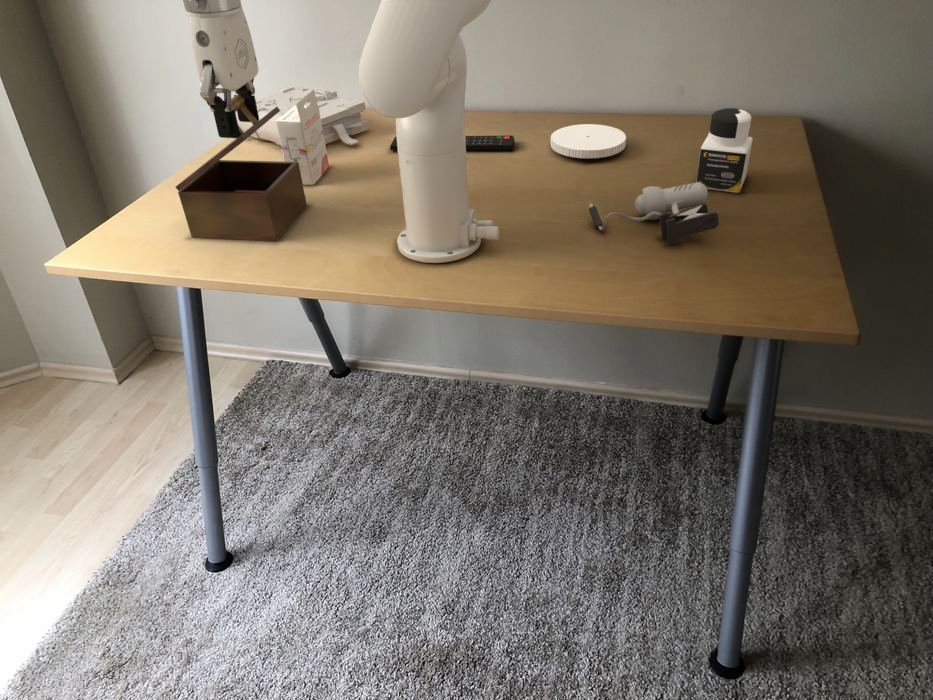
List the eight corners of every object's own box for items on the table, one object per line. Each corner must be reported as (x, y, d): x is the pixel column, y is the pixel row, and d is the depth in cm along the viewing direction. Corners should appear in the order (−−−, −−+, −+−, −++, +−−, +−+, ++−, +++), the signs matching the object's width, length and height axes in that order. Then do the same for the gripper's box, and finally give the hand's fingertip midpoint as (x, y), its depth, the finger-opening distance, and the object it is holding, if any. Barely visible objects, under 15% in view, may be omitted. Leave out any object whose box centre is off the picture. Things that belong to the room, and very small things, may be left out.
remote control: (396, 143, 146) (395, 136, 145) (515, 142, 143) (515, 135, 142) (390, 152, 142) (390, 146, 141) (513, 152, 139) (513, 145, 138)
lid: (280, 110, 115) (256, 79, 112) (245, 140, 104) (217, 106, 102) (217, 159, 122) (193, 131, 120) (178, 191, 112) (151, 161, 109)
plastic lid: (625, 137, 142) (626, 124, 141) (625, 164, 131) (626, 150, 130) (553, 136, 145) (553, 123, 143) (547, 163, 134) (547, 149, 132)
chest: (307, 205, 124) (298, 161, 119) (276, 241, 114) (266, 194, 109) (228, 202, 127) (216, 159, 122) (191, 237, 116) (177, 192, 112)
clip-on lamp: (596, 262, 109) (721, 239, 105) (588, 227, 105) (718, 201, 101) (592, 220, 118) (707, 197, 113) (585, 186, 114) (704, 161, 110)
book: (317, 164, 139) (310, 124, 135) (231, 136, 154) (222, 100, 150) (388, 134, 151) (384, 97, 146) (302, 111, 166) (296, 76, 161)
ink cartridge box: (305, 166, 138) (290, 87, 130) (330, 167, 137) (316, 88, 129) (287, 185, 132) (270, 103, 123) (313, 185, 131) (298, 103, 122)
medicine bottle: (694, 188, 122) (705, 116, 115) (703, 172, 127) (713, 103, 120) (739, 193, 119) (752, 121, 112) (745, 177, 124) (758, 106, 117)
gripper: (208, 14, 93) (238, 151, 103) (263, -12, 106) (284, 111, 117) (154, 14, 94) (189, 149, 104) (215, -13, 107) (241, 109, 118)
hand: (239, 128), depth 111 cm, fingers closed on lid, 6 cm apart
